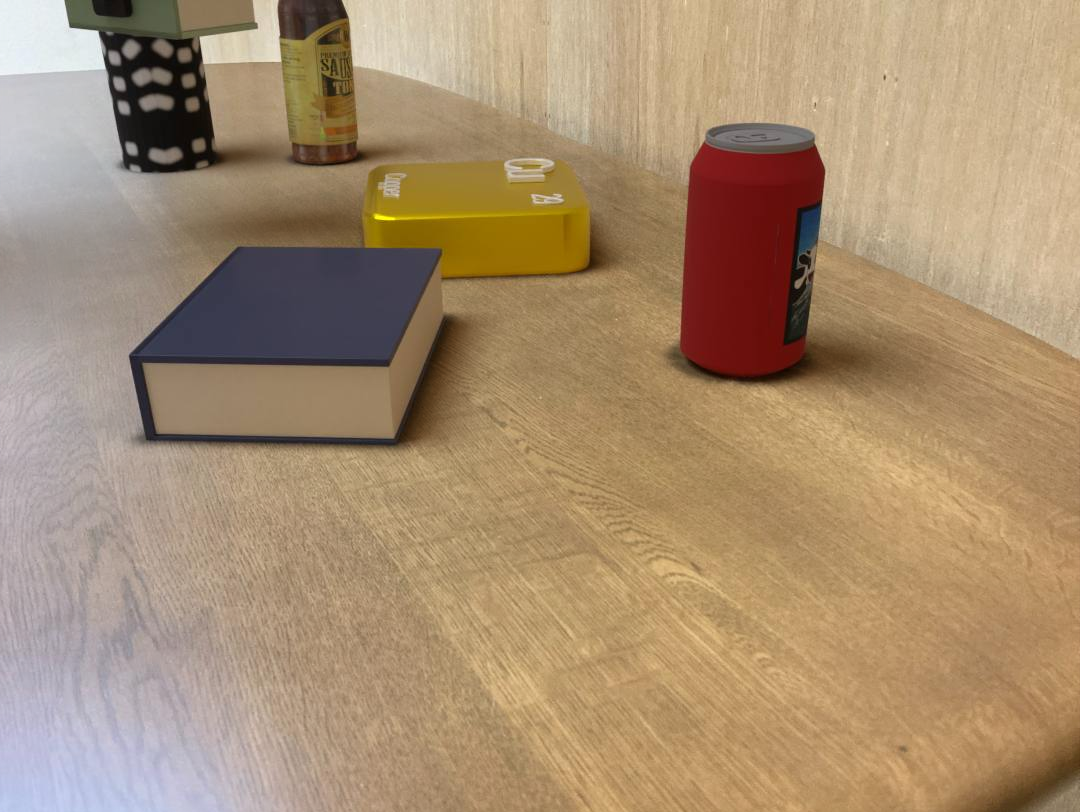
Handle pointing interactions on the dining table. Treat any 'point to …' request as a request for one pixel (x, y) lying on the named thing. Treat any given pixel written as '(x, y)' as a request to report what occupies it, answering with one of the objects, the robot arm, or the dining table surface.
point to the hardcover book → (168, 18)
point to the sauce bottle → (318, 80)
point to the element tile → (482, 215)
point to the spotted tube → (159, 102)
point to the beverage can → (750, 248)
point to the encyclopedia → (294, 348)
